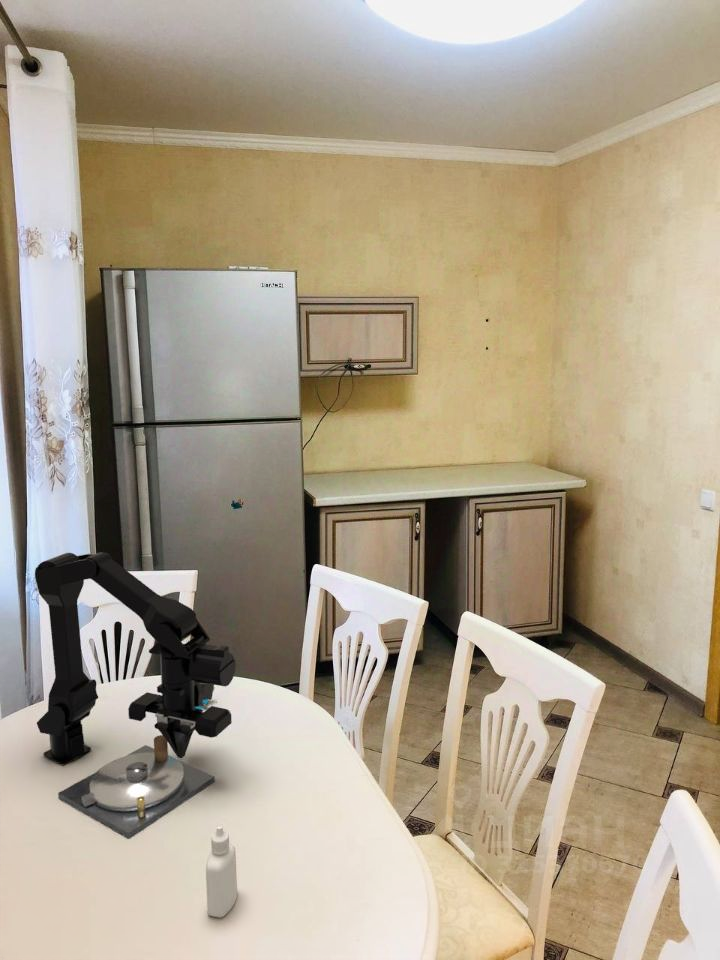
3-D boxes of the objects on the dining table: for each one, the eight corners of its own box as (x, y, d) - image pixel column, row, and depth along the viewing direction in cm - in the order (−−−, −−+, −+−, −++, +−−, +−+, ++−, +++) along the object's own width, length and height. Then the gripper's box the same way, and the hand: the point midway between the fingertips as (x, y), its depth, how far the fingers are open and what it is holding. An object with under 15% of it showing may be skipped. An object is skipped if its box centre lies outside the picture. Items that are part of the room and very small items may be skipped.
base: (58, 798, 127) (56, 777, 126) (145, 749, 142) (144, 730, 141) (128, 838, 116) (127, 816, 115) (214, 781, 132) (214, 761, 131)
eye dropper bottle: (197, 906, 102) (193, 830, 100) (229, 885, 106) (226, 811, 104) (215, 923, 99) (212, 844, 97) (248, 900, 103) (245, 824, 101)
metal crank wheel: (63, 794, 126) (61, 766, 125) (144, 749, 140) (142, 724, 139) (122, 827, 117) (120, 798, 116) (202, 776, 131) (201, 749, 130)
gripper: (246, 667, 134) (248, 745, 136) (162, 652, 141) (166, 726, 143) (212, 693, 124) (215, 777, 126) (124, 675, 130) (128, 755, 133)
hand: (181, 757), depth 132 cm, fingers closed
